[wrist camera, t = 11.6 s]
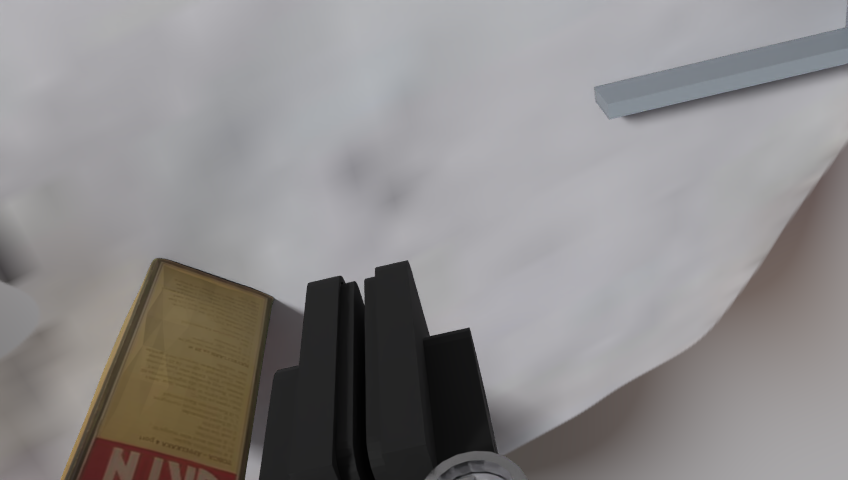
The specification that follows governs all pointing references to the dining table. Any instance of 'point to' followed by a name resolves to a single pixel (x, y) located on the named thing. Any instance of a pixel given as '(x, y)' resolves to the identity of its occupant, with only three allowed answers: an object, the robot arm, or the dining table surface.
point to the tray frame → (724, 74)
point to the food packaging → (177, 383)
